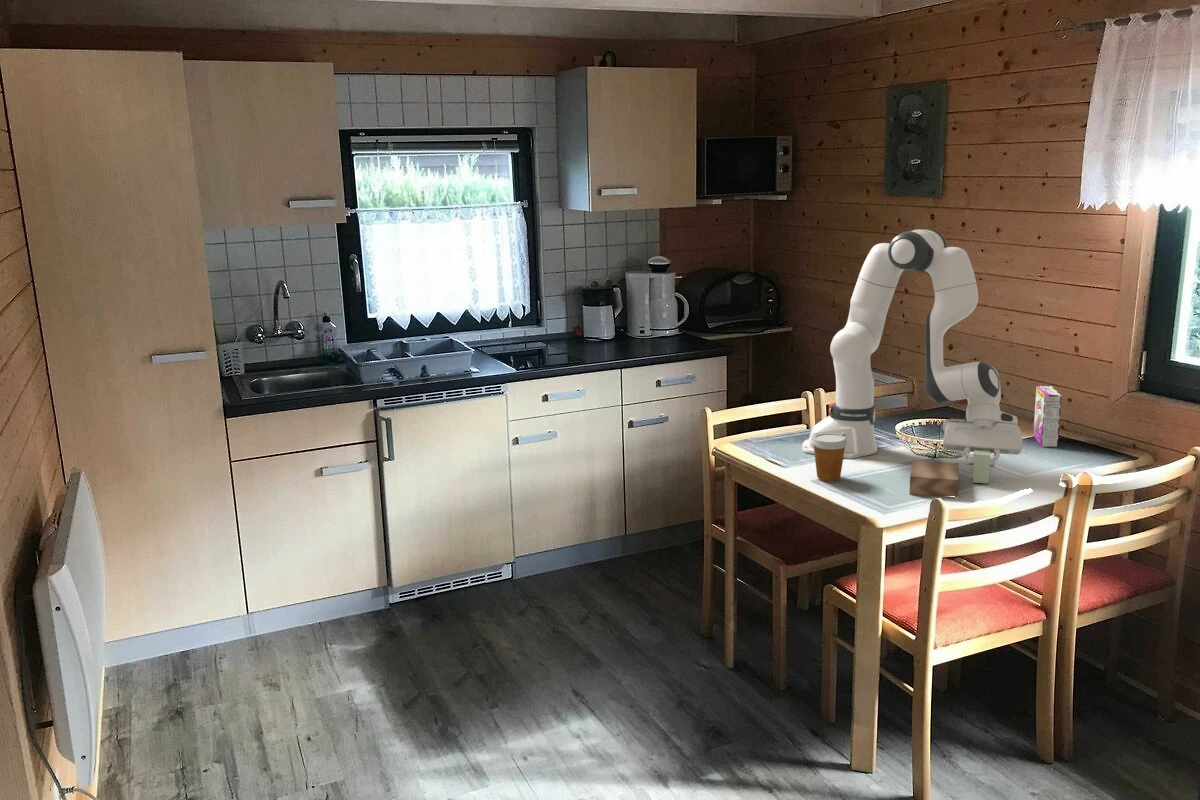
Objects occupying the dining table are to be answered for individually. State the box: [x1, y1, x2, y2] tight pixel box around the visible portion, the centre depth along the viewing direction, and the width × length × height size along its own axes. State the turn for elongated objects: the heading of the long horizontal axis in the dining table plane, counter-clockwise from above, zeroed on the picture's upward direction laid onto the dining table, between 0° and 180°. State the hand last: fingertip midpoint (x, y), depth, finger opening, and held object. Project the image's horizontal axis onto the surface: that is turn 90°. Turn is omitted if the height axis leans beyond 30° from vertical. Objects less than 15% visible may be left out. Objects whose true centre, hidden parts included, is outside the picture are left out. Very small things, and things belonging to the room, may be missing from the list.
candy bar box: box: [1032, 385, 1062, 448], centre depth 289 cm, size 11×5×16 cm, turn 168°
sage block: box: [971, 450, 991, 484], centre depth 258 cm, size 4×4×8 cm
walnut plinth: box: [908, 459, 960, 497], centre depth 256 cm, size 12×14×5 cm
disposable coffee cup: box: [812, 433, 847, 482], centre depth 266 cm, size 10×10×12 cm
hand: (981, 465), depth 257 cm, fingers closed on sage block, 4 cm apart
